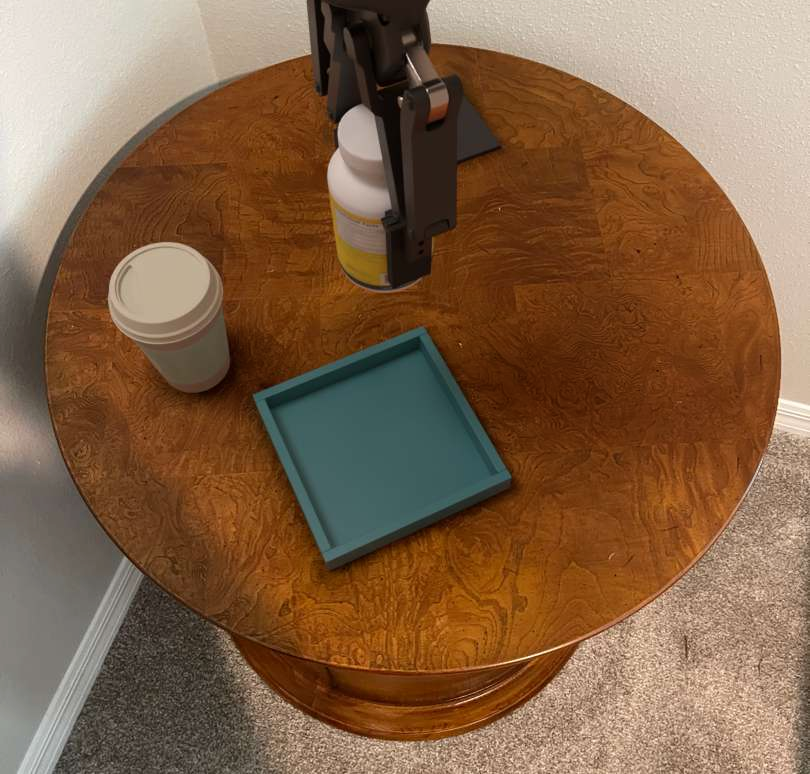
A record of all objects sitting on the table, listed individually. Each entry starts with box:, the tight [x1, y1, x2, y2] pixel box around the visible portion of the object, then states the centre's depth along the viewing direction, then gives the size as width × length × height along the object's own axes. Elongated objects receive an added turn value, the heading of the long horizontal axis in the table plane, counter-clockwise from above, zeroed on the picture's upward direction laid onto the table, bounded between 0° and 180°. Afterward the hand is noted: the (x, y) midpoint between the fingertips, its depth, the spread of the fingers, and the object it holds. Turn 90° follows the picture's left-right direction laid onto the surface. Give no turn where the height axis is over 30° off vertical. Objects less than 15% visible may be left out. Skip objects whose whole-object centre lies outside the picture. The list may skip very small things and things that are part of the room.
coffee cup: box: [107, 241, 231, 394], centre depth 66 cm, size 8×8×12 cm
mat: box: [457, 95, 501, 164], centre depth 85 cm, size 10×10×1 cm
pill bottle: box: [326, 103, 435, 294], centre depth 51 cm, size 6×6×12 cm
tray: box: [252, 325, 512, 572], centre depth 66 cm, size 16×16×2 cm
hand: (384, 237), depth 54 cm, fingers closed on pill bottle, 6 cm apart
